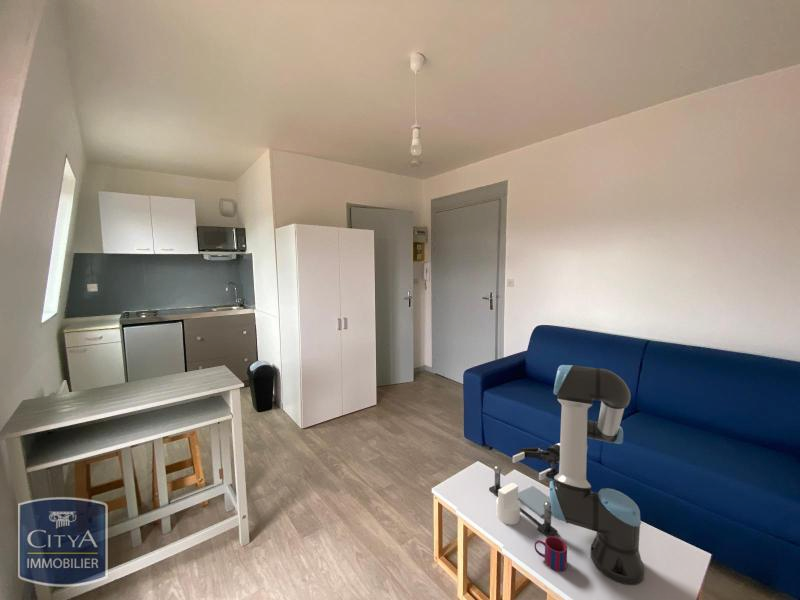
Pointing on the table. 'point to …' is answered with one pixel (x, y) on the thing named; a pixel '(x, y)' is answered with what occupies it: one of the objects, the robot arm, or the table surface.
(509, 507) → the base with upright slab
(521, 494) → the slate mat
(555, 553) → the mug
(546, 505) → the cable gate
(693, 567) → the table surface
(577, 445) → the robot arm
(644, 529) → the table surface
